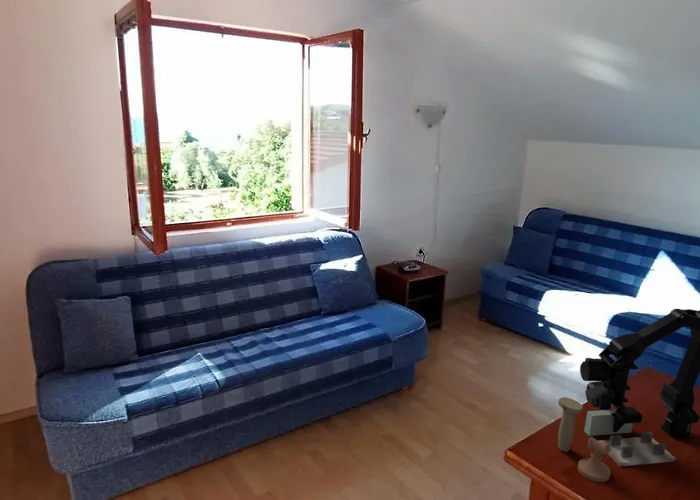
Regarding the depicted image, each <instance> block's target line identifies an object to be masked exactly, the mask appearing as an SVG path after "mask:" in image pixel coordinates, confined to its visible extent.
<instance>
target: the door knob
mask: <svg viewBox="0 0 700 500" xmlns="http://www.w3.org/2000/svg"><path fill="white" fill-rule="evenodd" d="M587 448H588V449H593V450H592V451H591V452H590V453H589V455H590V458H589V457H586V458H581V459H580V460H578V464H577V470H578V472H579V473H580V475H581V476H582V477H584V478H586V479H588V480H590V481H593V482H597V483H602V482H603V483H605V482H607V481H608V480H610V478H611V477H610V476H611V474H612V473H611V469H610V468H609V467H608V465H607V464H606V463H604V462H602V460H603V458H604V455H605V456H606V455H608V453H610V450H611V448H610V446H609V444H608V443H603V442H600V440H598V439H596V438H595V437H594V436H589V439H588V441H587Z"/></svg>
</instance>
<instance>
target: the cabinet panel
mask: <svg viewBox="0 0 700 500" xmlns="http://www.w3.org/2000/svg"><path fill="white" fill-rule="evenodd" d="M609 435H610V436H609V439H602V440H599V441H600V442H603V443H608V444H609V446H610V448H611V450H610V453H608V454H607V455H608V456H610V458H611V459H612V460H613V461H614V462H615V463H616V464H617V465H618V466H619V467H628V466H638V465H649V464H650V465H651V464H658V463H659V464H661V463H670V462H671V463H672V462H675V461H676V457H675V456H673V455H672V454H671V453H670V452H669V451H668V450H667V449H666V448H667V445H666V444H665V443H659V442H658V441H657V440H655V439H654V438H653V435H654V434H653V432H651V431H648V432H641V435H640V436H639V437H628V438H626V437H625V438H622V435H621V434H609Z"/></svg>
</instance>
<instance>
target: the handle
mask: <svg viewBox="0 0 700 500" xmlns="http://www.w3.org/2000/svg"><path fill="white" fill-rule="evenodd" d="M558 406H559V407H560V408H561V409H562V413H561V419H560V420H561V421H560V424H559V429H558V437H557V447H558V449H559V451H562V452H565V453H567V452H568V451H570V450H571V446H572V443H573V440H574V434H575V426H576V425H575V423H576V415H577V414H581V413H582V412H583V407H584V406H583V404H581V403H580V402H579V401H577V400H575V399H573V398H569V397H565V396H563V397H561V398H559V399H558Z"/></svg>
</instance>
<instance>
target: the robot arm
mask: <svg viewBox="0 0 700 500" xmlns="http://www.w3.org/2000/svg"><path fill="white" fill-rule="evenodd" d="M682 328H689V330H690V341H689V343H688V346H687V349H686V351H685V353H684V357H683V359H682V361H681V363H680V365H679V369H678V371H677V373H676V376H675V379H674V380H673V381H671V382H670V383H667V382H665V383H664V384H663V387H662V390H661V391H660V393H659V395H660V400H661V402H662V403H663V404H664V407H665V408H666V409H667V410H668V412H667V414H666V417H665V418H664V423H663V424H661V425H659V426H660V427H659V428H660V429H662V431H664V432H666V433H667V434H668V435H669V436H670V437H671V438H673V439H675V440H683V439H694V437H695V436H694V434H692V433H691V430H692V425H693V424H697V423H698V422H699V420H700V415H699V414H698V413H697V412H696V411H695V410H694V405H695V399H696V398H695V393H694V386H695V385H696V383H697V379H698V378H699V375H700V309H699V310H696V309H690V308H688V309H682V308H681V309H680V308H674V309H672V310H671V311H670V312H669V313H667V314H666V315H664V316H662V317H661V318H659V319H657V320H655V321H654V322H652V323H650V324H648V325H647V326H644V327H643V328H642V329H640V330H638V331H636V332H633V333H627V334H622V335H619V336H616V337H615V338H613V339H611V340H610V341H609V343H608V345H607V346H606V347H605V348H604V349H603V350H602V351H601V352H599V353H598V356H599V358H592V357H585V359H584V360H583V361H581V362H582V363H581V364H580V366H579V373H580V377H581V379H582V381H584V382H588V383H587V384H586V390H585V391H584V392H585V397H586V401H587V402H588V403H589V404H590V405H591V406H592V407H594V408H598V411H599V410H611V408H612V407H614V408H615V409H617V410H616V412H615V413H611V415H612V416H613V417H614V422H613V432H617V431H618V430H619V429H620V428H621V427H622V426H623V425H624V424H629V423H633V424H638V423H639V424H640V423H642V421H643V416H644V415H643V414H642V413H641V412H640V411H639V410H638V409H636V408H635V407H634V406H626V405H625V404H624V403H629V399H628V397H626V396H627V391H631V386H630V385H628V384H629V378H630V372H631V370H639V366H638V365H637V364H636V363H635V361H636V360H638V359H639V358H641V356H642V355H643V354H644V352H645V350H646V349H647V348H648V347H650V346H652V345H654V344H656V343H657V342H659V341H661V340H663V339H664V338H666V337H668V336H670V335H672V334H673V333H675V332H676V331H679V330H681V329H682ZM611 355H612V357H614V358H615V359H613V358H612V357H611Z"/></svg>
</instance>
